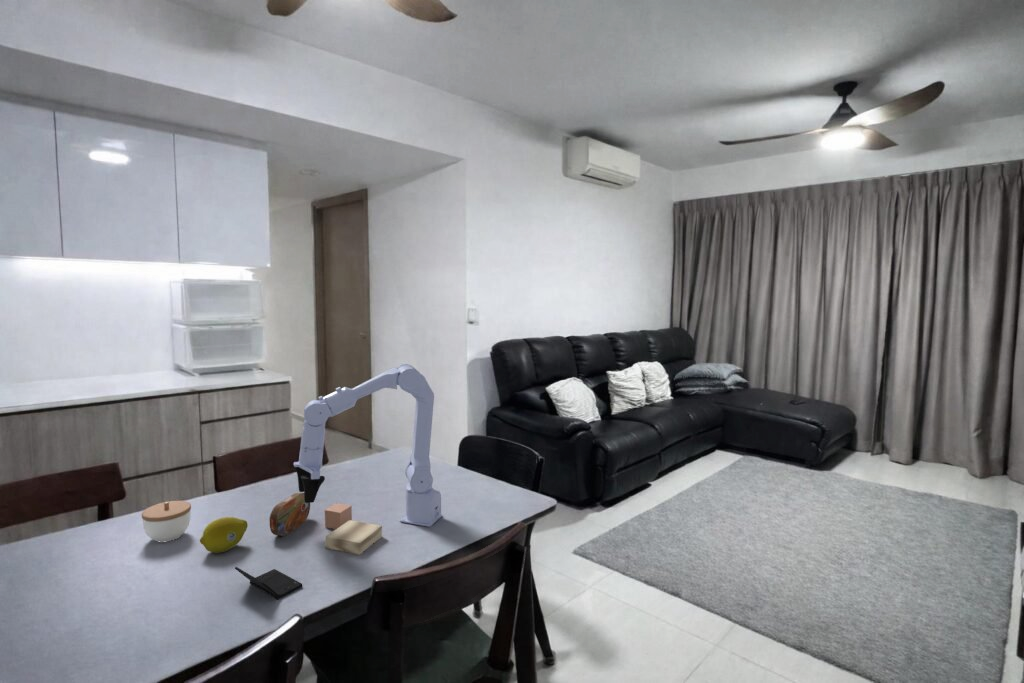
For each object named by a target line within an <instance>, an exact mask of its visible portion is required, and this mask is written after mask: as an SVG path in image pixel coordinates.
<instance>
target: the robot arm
mask: <svg viewBox="0 0 1024 683" xmlns="http://www.w3.org/2000/svg"><path fill="white" fill-rule="evenodd" d="M398 386H399V388H400V389H401V390H402V391H404V392H406V393H408V394H410V395H412V396H413V398H414V399H415V407H414V408H415V410H414V421H413V422H414V423H413V432H412V433H413V434H412V436H413V437H412V447H411V454H410V456H409V462H408V464H407V465H406V468H405V471H404V472H405V477H406V479H408V483H407V485H406V486H405V498H406V499H405V501H406V502H405V505H406V506H405V510H406V512H405V515H404V516H403V517H402V518H401V519H400V520H399V522H401V523H406V524H411V525H417V526H423V527H428V528H429V527H430V528H431V527H432V526H433V525H434V524H435V523H436V522H437V521H438V520H439V519H441V517H442V516H443V514H442V494H441V492H440V490H437V489H435V488H433V482H434V478H433V475H432V472H431V460H430V454H431V452H430V451H431V438H432V428H433V426H432V425H433V415H434V404H435V403H434V402H435V392H434V391H433V389H432V388H431V387H430V385H429V383H428V381H427V379H426V377H425V376H424V375H423V374H422V373H421V372H420V371H419V370H417V369H416V368H415V367H413V365H411V364H408V363H404V364H401V365H399V366H397V367H393V368H389V369H387V370H386V371H384V372H382V373H380V374H378V375H376V376H373V377H372V378H370V379H368V380H366V381H364V382H362V383H360V384H359V385H357V386H354V387H352V388H349V387H347V386H343V387H342V388H341V386H339V387H336V388H335V391H333V392H331V393H329V394H327V395H324V396H323V395H320V396H318V400H317V399H312V400H310V401H309V402H308V403H307V404H306V405H305V407H304V410H303V416H304V421H303V424H302V425H303V428H302V430H301V431H302V432H301V438H300V449H299V456H298V461H294V462H293V466H294V469H295V472H296V475H297V483H298V491H299V492H298V493H304V499H305V503H310V504H312V503H314V502H315V500H316V498H317V495H318V492H319V490H320V487H321V486H322V484H323V483H324V482H325V480H326V478H325V476H324V475H321V469H322V467H323V456H324V446H325V438H326V428H325V427H326V422H327V421H328V419H329V418H330V417H331V418H333V417H334V416H337V415H338V414H341V413H343V412H345V411H347V410H349V409H351V408H353V407H355V406H356V403H357V401H358V400H359V399H363V398H364V397H366V396H369V395H371V394H374V393H376V392H379V391H380V390H382V389H385V388H386V389H390V390H391V389H393V390H398Z"/></svg>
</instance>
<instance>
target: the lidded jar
mask: <svg viewBox="0 0 1024 683" xmlns="http://www.w3.org/2000/svg"><path fill="white" fill-rule="evenodd" d="M191 509H192V505H191V502H189V501H185V500H171V501H163V502H159V503H157V504H154V505H151V506H149V507H146V508H145V509H144V510H143V511H142V512H141V519H142V525H143V529H144V531H145V532H144V533H145V534H146V536H148V537H149V539H151V540H153V541H154V540H155V541H160V542H164V541H170V540H173V541H175V540H174V539H176V540H178V539H179V537H180V536H181V535H182V536H183V534H184V533H185V532H186V531H187V529H188V528H189V526H190V523H191V517H192V516H191V515H192V514H191V513H192V512H191V511H192V510H191ZM182 536H181V537H182ZM181 537H180V538H181ZM177 538H178V539H177ZM155 541H154V542H155ZM170 542H171V541H170Z"/></svg>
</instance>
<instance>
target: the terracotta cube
mask: <svg viewBox="0 0 1024 683" xmlns="http://www.w3.org/2000/svg"><path fill="white" fill-rule="evenodd" d="M352 506H353V505H351V504H344V503H339V502H336V503H334V504H333V505H331V506H329V507H328V508H326V509H325V510H324V522H325V523H324V527H325V528H326V527H328V528H327V529H331V528H333V530H336V529H337V528H339V527H340V526H342V525H343V524H344V523H346V522H347V521H349V520H352V519H353V518H352V516H353V515H352V513H353V510H352ZM352 521H353V520H352Z"/></svg>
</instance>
